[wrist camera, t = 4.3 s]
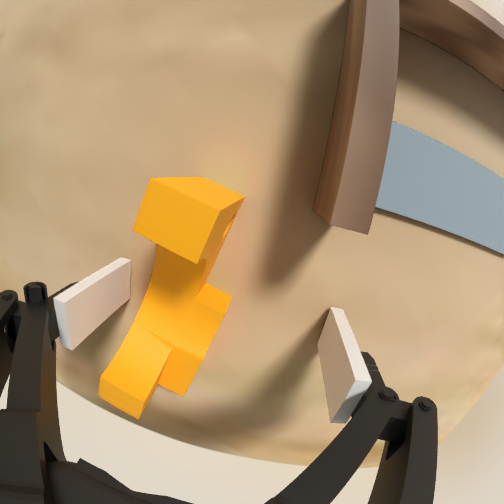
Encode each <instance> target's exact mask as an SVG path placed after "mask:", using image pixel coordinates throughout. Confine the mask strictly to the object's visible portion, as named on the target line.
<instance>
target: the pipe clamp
mask: <svg viewBox="0 0 504 504" xmlns="http://www.w3.org/2000/svg"><path fill="white" fill-rule="evenodd" d="M244 198H245V197H244V196H242V195H240V194H238V193H236V192H234V191H232V190H230V189H227V188H225V187H223V186H221V185H219V184H217V183H214V182H212V181H210V180H208V179H206V178H203V177H169V178H151V179H150V181H149V184H148V187H147V189H146V192H145V195H144V198H143V200H142V203H141V206H140V209H139V212H138V215H137V218H136V221H135V224H134V227H133V230H132V231H134V232H136V233H138V234H140V235H142V236H143V237H145V238H147V239H149V240H151V241H153V242H155V243H156V256H155V263H154V268H153V272H152V276H151V279H150V282H149V285H148V288H147V291H146V294H145V297H144V299H143V302H142V304H141V307H140V309H139V311H138V314H137V316H136V318H135V320H134V322H133V324H132V326H131V328H130V330H129V332H128V334H127V336H126V338H125V340H124V342H123V343H122V345H121V347H120V349H119V350H118V352H117V353H116V355H115V357H114V358H113V360H112V361H111V363H110V364H109V366H108V367H107V368H106V370H105V371H104V372H103V374H102V375H101V376H100V384H99V394H98V396H99V397H100V398H102V399H104V400H105V401H107V402H108V403H110V404H112V405H113V406H115V407H117V408H118V409H120V410H122V411H124V412H125V413H127V414H129V415H131V416H133V417H134V418H136V419H138V420H139V418H140V416H141V414H142V413H143V411H144V409H145V407H146V405H147V403H148V402H149V400H150V398H151V396H152V395H153V393H154V391H155V389H156V387H157V386H158V384H159V385H161V386H163V387H164V388H166V389H168V390H171V391H173V392H175V393H177V394H179V395H181V396H183V397H184V395H185V393H186V391H187V389H188V387H189V385H190V383H191V381H192V380H193V378H194V376H195V374H196V372H197V370H198V368H199V366H200V364H201V362H202V360H203V358H204V356H205V354H206V352H207V349H208V347H209V345H210V343H211V341H212V339H213V337H214V335H215V333H216V331H217V329H218V327H219V325H220V323H221V321H222V319H223V317H224V315H225V313H226V310H227V308H228V305H229V303H230V300H231V298H232V296H230V295H228V294H226V293H224V292H222V291H220V290H218V289H216V288H214V287H212V286H210V285H208V284H206V280H207V278H208V276H209V274H210V271H211V269H212V267H213V265H214V262H215V260H216V258H217V256H218V254H219V251H220V249H221V247H222V245H223V243H224V241H225V238H226V236H227V234H228V232H229V230H230V228H231V225H232V223H233V221H234V219H235V217H236V215H237V213H238V210H239V208H240V206H241V204H242V202H243V200H244Z"/></svg>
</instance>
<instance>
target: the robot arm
mask: <svg viewBox="0 0 504 504" xmlns="http://www.w3.org/2000/svg"><path fill="white" fill-rule="evenodd" d="M130 274H131V260H129V259H126V258H122V257H121V258H119V259H117V260H116V261H114V262H112V263H110V264H109V265H107V266H105V267H103V268H102V269H100V270H98V271H97V272H95V273H93V274H91V275H90V276H88V277H86V278H85V279H83V280H81V281H80V282H75V283H72V284H70V285H68V286H66V287H65V288H63V289H61V290H60V291H58V292H56V293H55V294H53V295H51V296H50V297H48V296H47V288H46V285H45V284H44V283H42V282H31V283H28V284H26V285H25V286H24V295H25V301H26V302H22V301H18V295H17V293H16V292H15V291H12V290H7V291H6V290H5V291H3V292H1V293H0V397H1V394H2V391H3V389H4V386H5V384H6V381H7V379H8V377H9V374H10V379H9V388H8V398H7V408H6V409H1V410H0V504H192V503H189V502H185V501H181V500H178V499H175V498H171V497H168V496H161V495H153V494H146V493H141V492H135V491H132V490H130V489H129V488H127V487H126V486H125V485H123V484H122V483H120V482H119V481H118V480H116V479H115V478H113V477H112V476H111V475H109V474H108V473H107V472H105V471H104V470H102V469H99V468H97V467H96V466H94V465H92V464H90V463H88V462H86V461H84V460H82V459H81V458H80V459H79V461H78V462H77V463H73V462H69V461H66V458H65V456H64V452H63V447H62V441H61V434H60V426H59V418H58V407H57V391H56V342H55V339H56V338H57V337H59V336H60V341H61V345H62V346H64V347H66V348H68V349H69V350H71V351H72V350H73V349H74V348H75V347H77V346H78V345H79V344H80V343H81V342H82V341H83V340H84V339H85V338H86V337H87V336H88V335H89V334H91V333H92V332H93V331H94V330H95V329H96V328H97V327H98V326H99V325H100V324H101V323H103V322H104V321H105V320H106V319H107V318H108V317H109V316H110V315H112V314H113V313H114V312H115V311H116V310H117V309H118V308H119V307H121V306H122V305H123V304H124V303H125V302H126V301H127V300H128V299H130ZM4 329H5V332H4ZM317 346H318V351H319V357H320V362H321V368H322V373H323V379H324V385H325V391H326V397H327V403H328V409H329V416H330V423H346V422H347V421H348V419H349V418H350V416H351V417H352V419H351V420H350V421H349V422H348V424H347V425H346V426H345V427H344V428H343V430H342V431H341V432H340V433H339V434H338V435H337V437H336V438H335V439H334V440H333V441H332V442H331V443H330V444H329V446H328V447H327V448H326V449H325V450H324V451H323V452H322V453H321V454H320V455H319V456H318V457H317V458H316V459H315V460H314V461H313V462H312V463H311V464H310V465H309V466H308V467H307V468H306V469H305V470H304V471H303V472H302V473H301V474H300V475H299V476H298V477H297V478H296V479H295V480H294V481H293V482H291V483H290V484H289V485H288V486H287V487H286V488H285V489H284V490H282V491H281V492H280V493H279V494H278V495H276V496H275V497H274V498H271V499H270V500H268V501H267V502H266V503H265V504H330V503H331V502H332V501H333V499H334V498H335V497H336V496H337V495H338V493H339V492H340V491H341V490H342V488H343V487H344V486H345V485H346V483H347V482H348V481H349V480H350V478H351V477H352V475H353V474H354V473H355V472H356V470H357V469H358V467H359V466H360V465H361V463H362V462H363V460H364V459H365V457H366V456H367V454H368V453H369V451H370V450H371V448H372V447H373V445H374V444H375V442H376V441H377V439H381V440H385V445H384V449H383V454H382V458H381V462H380V465H379V469H378V473H377V476H376V480H375V483H374V486H373V490H372V493H371V496H370V499H369V502H368V504H433V499H434V491H435V481H436V469H437V447H438V423H437V407H436V405H435V403H434V402H433V401H432V400H431V399H429V398H426V397H422V396H421V397H417V398H416V399H415V400H414V401H413V402H412V403H408V402H405V401H401V400H399V397H398V394H397V393H396V392H395V391H394V390H392V389H391V388H389V387H386V386H385V384H384V382H383V379H382V377H381V375H380V372H379V371H378V368H377V366H376V363H375V361H374V359H373V358H372V357H371V355H370V354H369V353H368V352H360V349H359V347H358V345H357V342H356V340H355V337H354V335H353V332H352V330H351V328H350V325H349V323H348V321H347V318H346V316H345V314H344V311H343V309H339V308H334V307H331V308H330V311H329V314H328V316H327V319H326V322H325V325H324V327H323V330H322V333H321V335H320V338H319V341H318V343H317Z"/></svg>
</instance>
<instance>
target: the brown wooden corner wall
mask: <svg viewBox="0 0 504 504" xmlns="http://www.w3.org/2000/svg"><path fill="white" fill-rule="evenodd" d="M399 28H402V29H404V30H406V31H408V32H410V33H413V34H415V35H417V36H419V37H421V38H423V39H425V40H427V41H429V42H431V43H433V44H435V45H436V46H438V47H440V48H442V49H444V50H445V51H447V52H449V53H450V54H452V55H454V56H455V57H457V58H459V59H460V60H462V61H463V62H465V63H467V64H468V65H470V66H471V67H473V68H474V69H475V70H477V71H478V72H480V73H481V74H483V75H484V76H485V77H487V78H488V79H489V80H491V81H492V82H493V83H495V84H496V85H497V86H498V87H500V88H501V89H502V90H503V91H504V26H503V25H502V24H501V23H500V22H498V21H497V20H496V19H495V18H493V17H492V16H491V15H490V14H488V13H487V12H486V11H484V10H483V9H482V8H480V7H479V6H477V5H476V4H475V3H473V2H472V1H470V0H350V2H349V11H348V20H347V28H346V36H345V43H344V51H343V57H342V64H341V71H340V77H339V83H338V89H337V95H336V101H335V106H334V112H333V117H332V122H331V128H330V133H329V138H328V143H327V148H326V153H325V157H324V162H323V167H322V171H321V176H320V180H319V185H318V189H317V194H316V198H315V202H314V207H313V209H314V210H315V211H316V212H317V213H318V214H319V215H320V216H321V217H322V218H323V219H324V220H325V221H326V222H327V223H329V224H330V225H332V226H336V227H340V228H344V229H348V230H352V231H356V232H360V233H363V234H367V235H368V233H369V229H370V225H371V221H372V218H373V214H374V210H375V206H376V202H377V197H378V193H379V189H380V184H381V180H382V175H383V170H384V165H385V160H386V155H387V149H388V144H389V138H390V132H391V125H392V118H393V111H394V103H395V94H396V84H397V72H398V57H399Z"/></svg>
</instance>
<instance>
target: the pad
mask: <svg viewBox="0 0 504 504" xmlns="http://www.w3.org/2000/svg"><path fill="white" fill-rule="evenodd" d="M375 207H377V208H381V209H384V210H387V211H390V212H393V213H397V214H400V215H403V216H406V217H409V218H412V219H415V220H418V221H421V222H423V223H426V224H429V225H432V226H435V227H437V228H440V229H443V230H446V231H448V232H451V233H454V234H456V235H459V236H461V237H464V238H466V239H469V240H471V241H474V242H476V243H479V244H481V245H483V246H486V247H488V248H490V249H493V250H495V251H497V252H500V253H502V254H504V179H503V178H501V177H500V176H498V175H497V174H495V173H494V172H492V171H491V170H489V169H488V168H486V167H484V166H483V165H481V164H480V163H478V162H476V161H474V160H473V159H471V158H469V157H468V156H466V155H464V154H462V153H460V152H459V151H457V150H455V149H453V148H451V147H449V146H447V145H445V144H443V143H441V142H439V141H437V140H435V139H433V138H431V137H429V136H427V135H425V134H422V133H420V132H418V131H416V130H413V129H411V128H409V127H406V126H404V125H401V124H399V123H396V122H394V121H392V125H391V132H390V138H389V144H388V149H387V155H386V160H385V165H384V170H383V175H382V180H381V184H380V189H379V193H378V197H377V202H376V206H375Z"/></svg>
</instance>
